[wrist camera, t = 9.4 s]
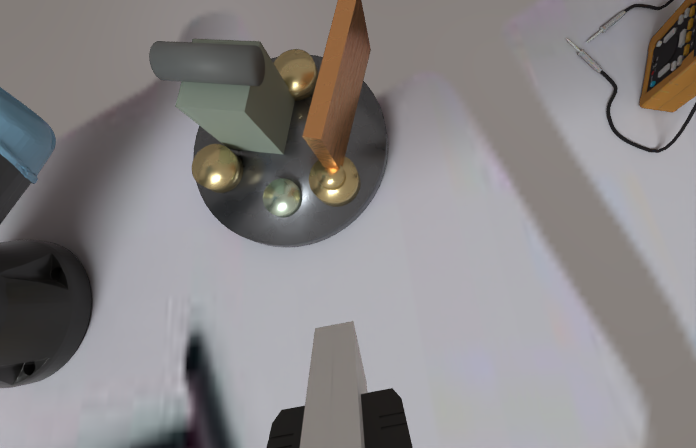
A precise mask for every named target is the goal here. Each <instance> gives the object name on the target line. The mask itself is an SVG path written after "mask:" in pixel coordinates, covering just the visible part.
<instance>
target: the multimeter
mask: <svg viewBox="0 0 696 448" xmlns="http://www.w3.org/2000/svg"><path fill="white" fill-rule="evenodd" d="M672 1H674V0H670V1H668V2H667V3H666V4H665V5H663V6H661V7H655V6H651V5H644V4H635V5H632V6H630V7H628V8H627V9H626V10H624V11H622V12H620V13H619V14H617V15H616V16H615V17H614V18H612V19H611V20H610V21H609V22H608V23H606V24H605V25H604V26H602V27H600V31H599V32H597V33H596V34H595V35H594V36H592V37H591V38H590V39H589V40H588V41H587V42H589V41H591V40H592V39H593V38H594V37H596V36H597V35H598V34H599V33H601V32H602V33H604V32H605V31H606V30H607V29H608V28H609V27H610V26H612V25H613V24H614V23H615V22H617V21H618V20H619V19H620V18H621V17H623V15H624V14H625V13H626V12H627V11H629V10H630V9H632V8H634V7H644V8H650V9H654V10H660V9H662V8H664V7H666V6H668V5H669V4H670V3H671V2H672ZM566 39H567V38H566ZM567 41H568V42H569V43H570V44H571V45H572V46H573V47H574V48H575V49H576V50H577V51H578V52H579V53H578V55H580V56H581V57H582V58H583V59H584V60H585V61H586V62H587V63H588V64H589V65H590V66H591V67H592V68H593V69H594V70H596V71H597V72H599V73H601V74H602V75H603V76H604V77H605V78H606V79H607V80H608V81H609V82H610V83H611V84H612V85H613V87H614V93H613V95H612V97H611V99H610V101H609V103H608V106H607V118H608V121H609V125H610V127H611V129H612V130H613V132H614V133H615V134H616V135H617V136H618V137H619V138H620V139H622V140H623V141H625V142H626V143H628V144H630V145H632V146H635V147H637V148H640V149H642V150H645V151H648V152H656V153H659V152H661V151H663V150H666V149H667V148H669V147H670V146H671V145H672V144H673V143H674V142H675V141H676V140H677V138H678V137H679V136H680V135H681V133H682V132H683V131H684V129H685V127H686V126H687V124H688V123H689V121H690V119H691V118H692V116H693V114H694V112H695V111H696V103H695V105H694V107H693V109H692V110H691V112H690V114H689V116H688V118H687V120H686V121H685V123H684V124H683V126H682V128H681V129H680V131H679V132H678V134H677V135H676V136H675V137H674V139H673V140H672V141H671V142H670V143H669V144H667V145H666V146H665V147H663V148H661V149H659V150H655V149H649V148H646V147H643V146H641V145H638V144H636V143H633V142H632V141H630V140H628V139H626V138H625V137H623V136H622V135H621V134H619V133H618V131H617V130H616V129H615V127H614V125H613V123H612V119H611V116H610V106H611V103H612V101H613V99H614V97H615V95H616V93H617V85H616V84H615V82H614V81H613V80H612V79H611V78H610V77H609V76H608V75H607V74H606V73H605V72H604V71H602V69H601V67H600V66H599V65H598V64H597V63H596V62H595V61H594V60H593V59H592V58H591V57H590V56H589V55H588V54H587V53H586V52H584V49H583V50H580V49H579V48H578V47H577V46H575V45H574V44H573V43H572V42H571V41H570V40H569V39H567ZM587 42H586V43H587ZM648 52H649V53H648V59H647V65H646V71H645V77H644V83H643V89H642V95H641V98H640V107H642V108H646V109H653V110H660V111H667V112H674V111H676V110H677V109H678V108H680V107H681V106H682V105H684V104H685V103H687V102H688V101H689V100H691V99H692V98H694V97H695V96H696V0H685V1H684V2H683V4H682V5H681V6H680V7H679V8H678V9H677V10H676V12H675V13H674V14H673V15H672V16H671V17H670V18H669V19H668V21H667V22H666V23H665V24H664V25H663V26H662V27H661V29H660V30H659V31H658V32H657V33H656V34H655V35H654V36H653V37H652V39H651V41H650V44H649V49H648Z"/></svg>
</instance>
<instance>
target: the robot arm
mask: <svg viewBox="0 0 696 448" xmlns="http://www.w3.org/2000/svg"><path fill="white" fill-rule="evenodd" d="M55 145H56V138H55V135H54V132H53V130H52V129H51V127H50V126H49V125H48V124H47V123H46V122H45V121H44V120H43V119H42V118H41V117H39V116H38V115H37V114H36V113H34V112H33V111H32V110H31V109H29V108H28V107H27V106H25V105H24V104H23V103H21V102H20V101H19V100H17V99H16V98H14V97H13V96H12V95H11V94H9V93H8V92H6V91H5V90H3V89H2V88H1V87H0V224H1V222H2V221H3V220H4V218H5V217H6V216H7V214H8V213H9V212H10V210H11V209H12V208H13V206H14V205H15V204H16V202H17V201H18V200H19V198H20V197H21V196H22V194H23V193H24V192H25V190H26V189H27V188H28V186H29V185H30V184H31V183H32V184H35V183H36V182H37V180H38V178H37V175H38V173H39V172H40V170H41V169H42V167H43V166H44V164H45V163H46V161H47V160H48V158H49V157H50V155H51V154H52V152H53V151H54V148H55ZM90 312H91V290H90V284H89V280H88V277H87V274H86V272H85V270H84V268H83V266H82V264H81V263H80V261H79V260H78V259H77V258H76V256H75V255H74V254H73V253H71V252H70V251H69V250H67V249H66V248H64V247H62V246H60V245H57V244H54V243H49V242H42V241H35V240H15V241H8V242H2V243H0V388H11V387H16V386H21V385H25V384H30V383H34V382H38V381H41V380H43V379H45V378H47V377H49V376H51V375H52V374H54V373H55V372H56V371H58V370H59V369H60V368H61V367H63V366H64V365H65V364H66V363H67V361H68V360H69V359H70V358H71V357H72V355H73V354H74V353H75V351H76V350H77V348H78V346H79V345H80V343H81V341H82V339H83V337H84V334H85V332H86V329H87V326H88V322H89V318H90ZM267 448H412V443H411V439H410V435H409V430H408V426H407V421H406V417H405V412H404V408H403V403H402V399H401V397H400V396H399V395H398V394H397V393H396V392H395V391H394V390H393V389H392V388H391V389H386V390H381V391H375V392H370V393H367V383H366V378H365V373H364V369H363V364H362V359H361V355H360V350H359V346H358V341H357V336H356V332H355V327H354V322H353V321H352V322H346V323H341V324H336V325H331V326H326V327H320V328H315V333H314V341H313V349H312V356H311V364H310V372H309V379H308V387H307V395H306V402H305V406H301V407H295V408H290V409H285V410H281V412H280V413H279V415H278V416H277V417H276V419H275V420H274V422H273V423H272V427H271V431H270V435H269V441H268V444H267Z"/></svg>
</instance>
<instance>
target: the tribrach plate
mask: <svg viewBox="0 0 696 448" xmlns="http://www.w3.org/2000/svg"><path fill="white" fill-rule="evenodd" d="M322 59H323V57H319V56H313V55H309V54H308V53H307V52H305V51H303V50H298V49H293V50H289V51H286V52H284V53H282V54H281V55H280V56H279V57H276V58H272V59H271V60H272V62H273V63H274V65H275V67H276V68H277V70H278V72H279V73H280V75H281V76H282V78H283V80H284V81H285V83H286V85H287V86H288V88H289V92H290V94H291V95H292V97H293V99H294V100H295V102H294V107H293V112H292V117H291V122H290V127H289V131H288V136H287V141H286V146H285V151H284V154H274V153H264V152H254V151H245V150H235V149H228V148H227V147H226V146H225V145H223V144H222V143H221V142H220V141H218V140H217V139H216V138H215V137H213V136H212V135H211V134H210V133H208V132H207V131H206V130H205V129H203V128H202V127H201V126H199V129H198V132H197V135H196V140H195V146H194V159H193V163H192V174H193V177H194V179H195V180H196V182H197V186H198V188H199V191H200V194H201V196H202V198H203V200H204V202H205V204H206V205H207V207H208V208H209V210H210V211H211V212H212V214H213V215H214V216H215V217H216V218H217V219H218V220H219V221H220V222H221V223H222V224H223V225H225V226H226V227H227V228H228V229H230V230H231V231H233V232H235V233H236V234H238V235H240V236H242V237H245V238H247V239H250V240H252V241H255V242H258V243H261V244H265V245H269V246H275V247H299V246H305V245H310V244H313V243H316V242H320V241H323V240H325V239H327V238H329V237H331V236H333V235H335V234H337V233H338V232H340V231H341V230H343V229H345V228H346V227H347V226H349V225H350V224H351V223H352V222H353V221H354V220H356V219H357V218H358V217H359V216H360V214H361V213H362V212H363V211H364V210H365V209H366V208H367V206H368V205H369V203H370V202H371V201H372V199H373V198H374V196H375V194H376V192H377V190H378V188H379V186H380V184H381V181H382V178H383V176H384V172H385V167H386V163H387V154H388V142H387V133H386V128H385V123H384V118H383V114H382V111H381V108H380V106H379V103H378V102H377V100H376V98H375V96H374V94H373V93H372V91H371V90H370V88H369V87H368V86H367V84H366V83H365V82H364V81H363V83H362V88H361V92H360V96H359V100H358V104H357V108H356V112H355V117H354V121H353V125H352V129H351V133H350V137H349V141H348V145H347V150H346V154H345V157H347V158H349V159H350V160H351V161H352V162H353V164H354V165H355V167H356V169H357V171H358V174H359V176H360V181H361V185H360V190H359V192H358V194H357V196H356V197H355V199H354V200H353V201H351V202H350V203H348V204H347V205H344V206H340V207H332V206H329V205H326V204H324V203H323V202H322V201H321V200H320V199H319V198H318V197H317V196H316V195H315V194H314V193H313V192H312V190H311V188H310V185H309V174H310V171H311V168H312V167H313V165H314V164H315V163H316V162H317V161H318V160H319V159H318V158H317V157H316V155H315V154H314V152H313V151H312V149H311V148H310V147H309V145H308V144H307V142H306V141H305V140H304V138H303V137H302V136H303V132H304V128H305V124H306V121H307V117H308V113H309V109H310V105H311V102H312V98H313V94H314V90H315V86H316V82H317V79H318V75H319V71H320V67H321V63H322Z"/></svg>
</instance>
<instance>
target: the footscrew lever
mask: <svg viewBox="0 0 696 448" xmlns="http://www.w3.org/2000/svg"><path fill="white" fill-rule="evenodd" d="M370 50H371V49H370V44H369V39H368V33H367V28H366V23H365V17H364V12H363V7H362V2H361V0H338V2H337V6H336V10H335V13H334V17H333V21H332V25H331V29H330V33H329V36H328V40H327V44H326V48H325V52H324V56H323V59H322V63H321V67H320V71H319V75H318V79H317V82H316V86H315V90H314V94H313V98H312V102H311V105H310V109H309V113H308V117H307V121H306V124H305V128H304V132H303V136H302V137H303V138H304V140H305V141H306V142H307V144H308V145H309V147H310V148H311V149H312V151H313V152H314V154H315V155H316V157H317V158H318V159H319V160H318V161H317V162H316V163H315V164H314V165H313V167H312V168H311V171H310V174H309V185H310V188H311V190H312V192H313V193H314V194H315V195H316V196H317V197H318V198H319V199H320V200H321V201H322V202H323V203H324V204H326V205H329V206H332V207H340V206H344V205H347V204H348V203H350V202H351V201H353V200H354V199H355V197H356V196H357V194H358V192H359V190H360V185H361V181H360V176H359V174H358V171H357V169H356V167H355V165H354V164H353V162H352V161H351V160H350V159H349V158H347V157H345V154H346V150H347V145H348V141H349V137H350V133H351V129H352V125H353V121H354V117H355V112H356V108H357V104H358V100H359V96H360V92H361V88H362V83H363V79H364V75H365V70H366V67H367V63H368V59H369V54H370Z"/></svg>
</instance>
